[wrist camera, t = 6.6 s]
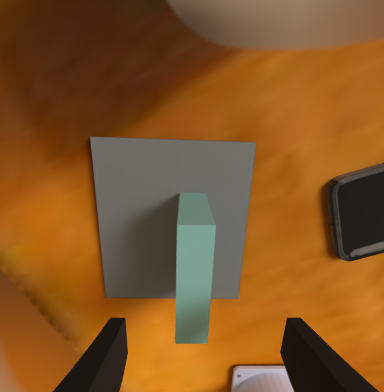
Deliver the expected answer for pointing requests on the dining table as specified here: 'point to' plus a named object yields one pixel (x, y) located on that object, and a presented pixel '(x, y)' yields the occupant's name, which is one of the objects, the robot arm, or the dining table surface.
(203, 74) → the dining table surface
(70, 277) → the dining table surface
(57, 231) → the dining table surface
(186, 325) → the block
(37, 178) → the dining table surface
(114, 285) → the mat
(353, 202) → the phone
